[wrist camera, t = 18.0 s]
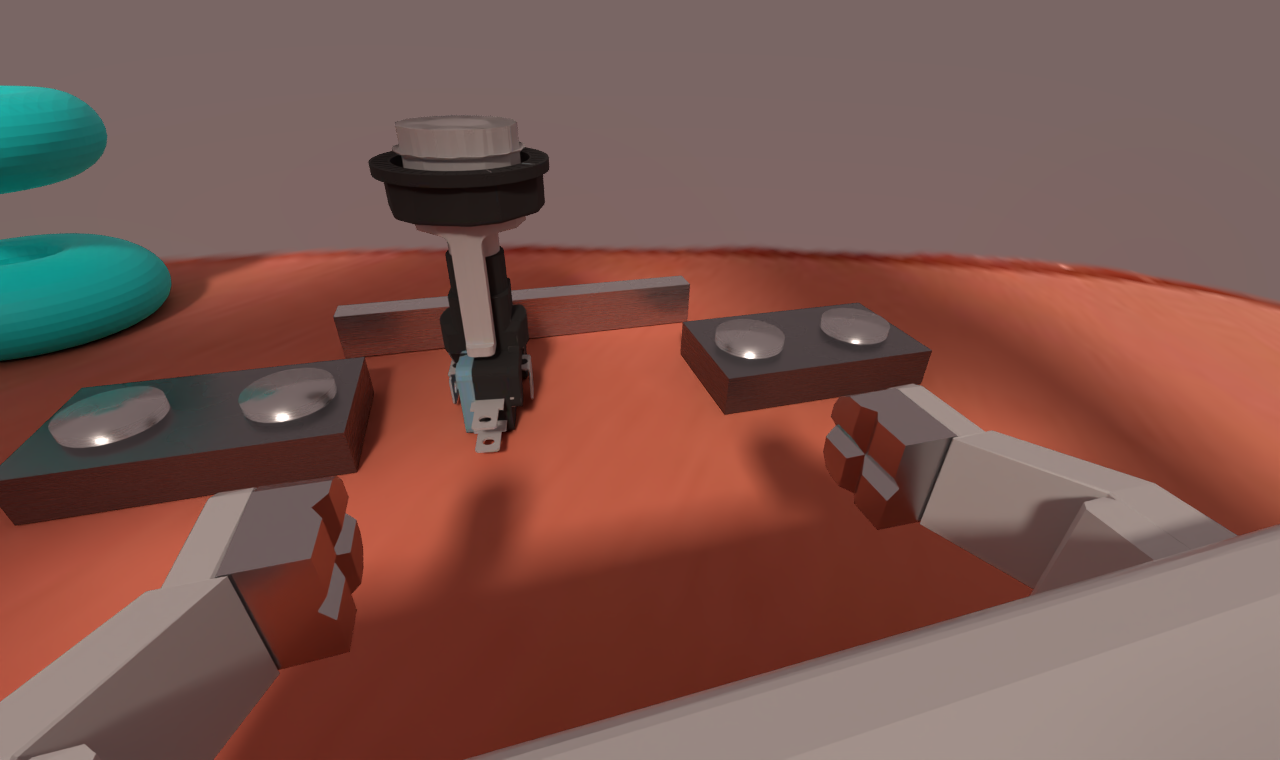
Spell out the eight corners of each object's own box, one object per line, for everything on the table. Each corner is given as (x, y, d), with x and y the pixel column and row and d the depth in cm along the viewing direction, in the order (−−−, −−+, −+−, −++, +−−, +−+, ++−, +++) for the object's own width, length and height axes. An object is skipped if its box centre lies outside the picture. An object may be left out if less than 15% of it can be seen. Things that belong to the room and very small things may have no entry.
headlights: (14, 525, 16) (-28, 471, 15) (156, 366, 24) (135, 323, 23) (921, 383, 24) (934, 341, 23) (805, 298, 31) (811, 264, 30)
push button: (567, 458, 19) (546, 142, 14) (403, 471, 18) (316, 143, 13) (561, 362, 25) (546, 112, 19) (436, 369, 24) (385, 111, 19)
